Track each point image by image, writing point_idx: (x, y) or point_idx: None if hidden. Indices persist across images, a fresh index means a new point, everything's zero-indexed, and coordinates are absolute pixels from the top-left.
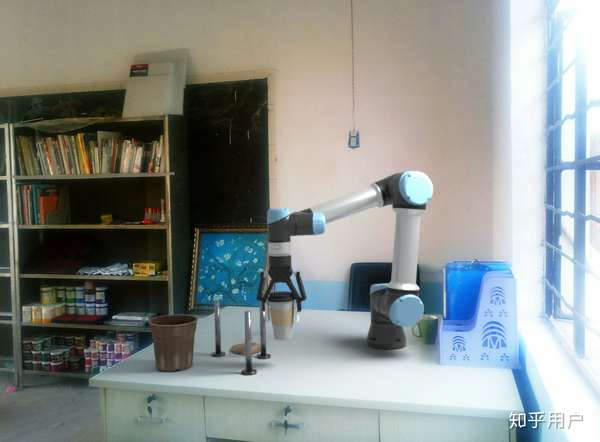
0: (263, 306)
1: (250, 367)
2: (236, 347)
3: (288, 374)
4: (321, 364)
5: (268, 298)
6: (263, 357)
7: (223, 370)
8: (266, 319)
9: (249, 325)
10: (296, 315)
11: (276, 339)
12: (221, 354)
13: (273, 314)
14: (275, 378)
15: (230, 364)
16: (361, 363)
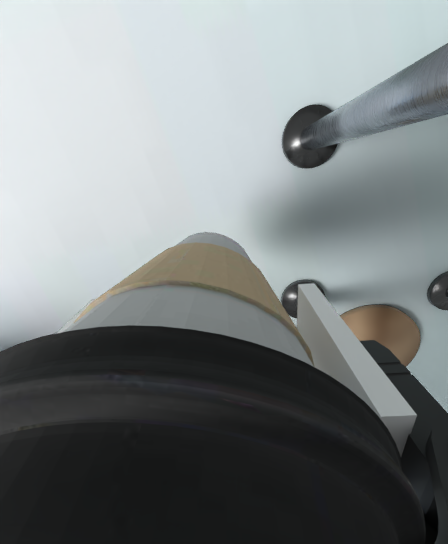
0: (401, 380)
1: (307, 127)
2: (403, 342)
3: (172, 157)
4: (117, 271)
5: (402, 484)
6: (298, 283)
7: (409, 139)
8: (313, 292)
9: (442, 51)
10: (64, 328)
11: (231, 239)
12: (442, 282)
13: (245, 279)
14: (198, 100)
15: (394, 210)
16: (24, 300)
